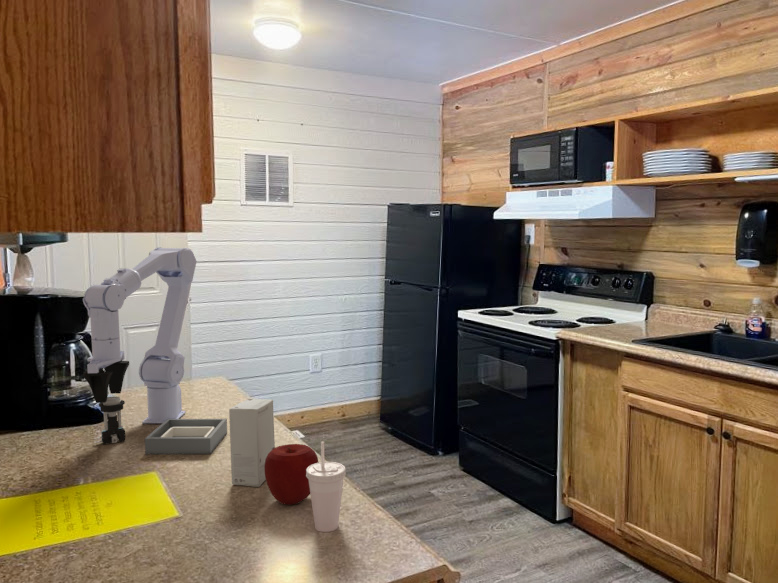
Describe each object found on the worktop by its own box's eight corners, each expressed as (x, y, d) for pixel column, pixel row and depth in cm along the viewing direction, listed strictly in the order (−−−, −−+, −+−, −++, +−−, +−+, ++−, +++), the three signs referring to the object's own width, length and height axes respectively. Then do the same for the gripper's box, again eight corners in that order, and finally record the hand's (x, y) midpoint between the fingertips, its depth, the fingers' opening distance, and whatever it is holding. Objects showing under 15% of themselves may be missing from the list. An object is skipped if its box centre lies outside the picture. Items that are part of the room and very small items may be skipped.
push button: (96, 448, 137) (94, 404, 136) (92, 441, 141) (90, 398, 140) (128, 442, 140) (126, 399, 139) (123, 436, 145) (121, 394, 144)
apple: (280, 486, 116) (279, 434, 115) (328, 492, 113) (327, 439, 112) (255, 507, 107) (253, 451, 106) (305, 515, 104) (304, 457, 103)
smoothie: (318, 514, 104) (317, 434, 103) (352, 521, 102) (352, 438, 101) (299, 531, 98) (297, 446, 97) (335, 539, 96) (334, 451, 95)
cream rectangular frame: (171, 435, 144) (171, 426, 144) (215, 435, 144) (215, 426, 144) (159, 447, 136) (158, 438, 135) (205, 447, 136) (205, 438, 135)
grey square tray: (168, 433, 147) (167, 418, 146) (227, 433, 147) (226, 418, 146) (145, 454, 133) (144, 438, 132) (210, 454, 133) (210, 438, 133)
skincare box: (259, 488, 115) (257, 410, 114) (229, 485, 117) (227, 408, 115) (276, 471, 123) (275, 398, 122) (248, 468, 125) (246, 396, 123)
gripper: (102, 332, 145) (104, 389, 147) (71, 344, 131) (75, 406, 132) (132, 332, 145) (134, 389, 147) (105, 343, 131) (108, 406, 132)
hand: (108, 397), depth 140 cm, fingers open, 7 cm apart
